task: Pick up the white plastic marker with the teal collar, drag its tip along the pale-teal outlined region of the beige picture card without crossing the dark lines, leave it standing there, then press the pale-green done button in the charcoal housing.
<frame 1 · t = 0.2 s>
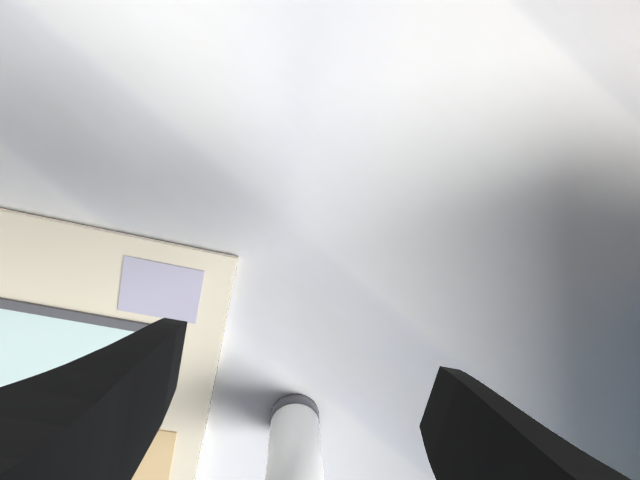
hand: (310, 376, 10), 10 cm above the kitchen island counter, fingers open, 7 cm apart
sheet: (85, 366, 20), on the kitchen island counter
marker: (294, 414, 22), on the kitchen island counter
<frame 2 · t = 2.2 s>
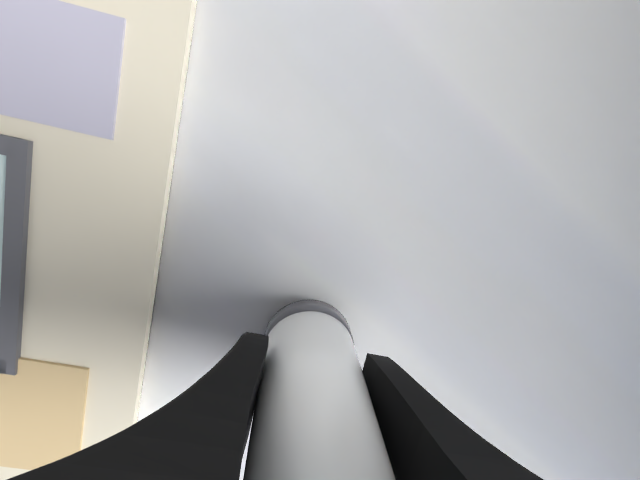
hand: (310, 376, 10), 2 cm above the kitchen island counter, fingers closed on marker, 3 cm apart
marker: (308, 340, 12), on the kitchen island counter, touching gripper
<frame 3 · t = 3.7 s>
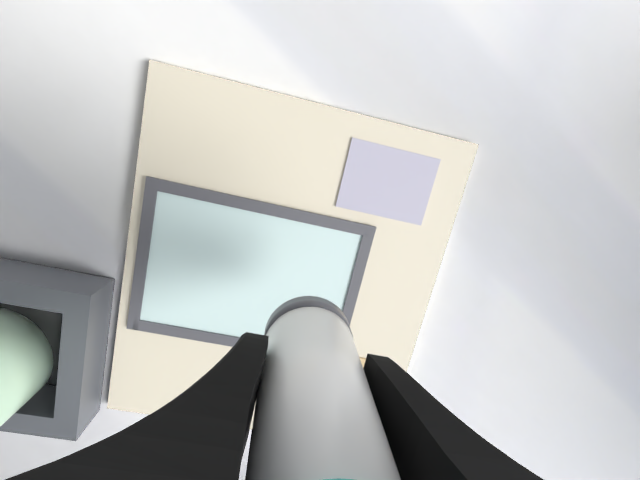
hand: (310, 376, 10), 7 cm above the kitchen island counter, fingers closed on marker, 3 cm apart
button housing: (28, 334, 17), on the kitchen island counter
sheet: (283, 280, 17), on the kitchen island counter
marker: (307, 335, 12), point 5 cm above the kitchen island counter, touching gripper
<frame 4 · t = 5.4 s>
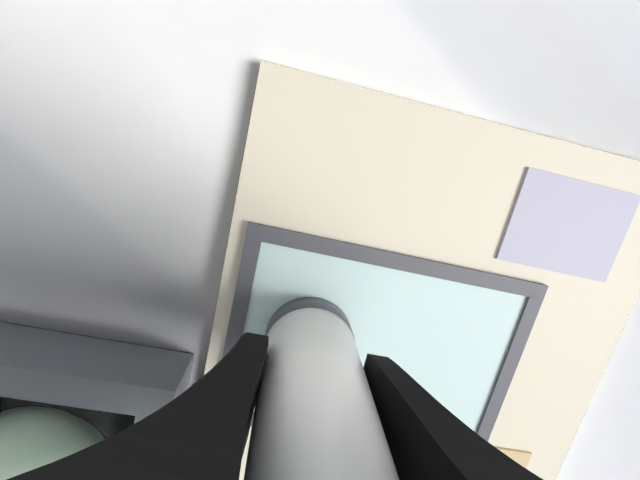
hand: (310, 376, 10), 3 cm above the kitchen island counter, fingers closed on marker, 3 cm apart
button housing: (77, 425, 13), on the kitchen island counter
sheet: (413, 352, 13), on the kitchen island counter
marker: (308, 337, 12), point 1 cm above the kitchen island counter, touching gripper
when the fingers open (3 cm above the kitchen island counter, at t = 5.7 s): marker stays where it is, resting on sheet.
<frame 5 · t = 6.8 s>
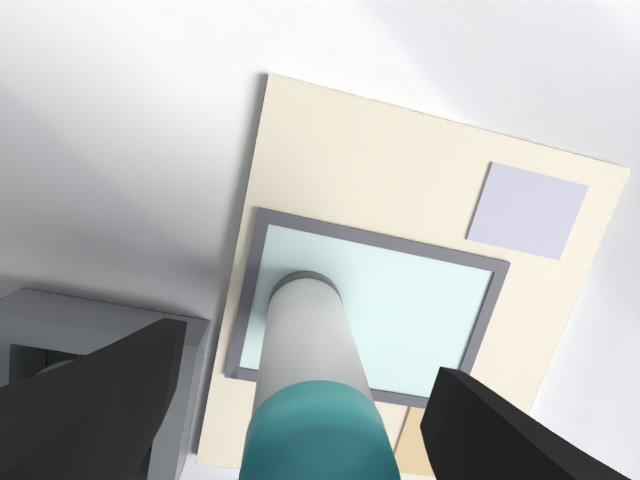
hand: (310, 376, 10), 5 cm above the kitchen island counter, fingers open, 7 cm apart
done button: (55, 452, 11), point 4 cm above the kitchen island counter, slide at 0.0 cm
button housing: (110, 382, 15), on the kitchen island counter
sheet: (397, 320, 15), on the kitchen island counter
marker: (305, 305, 14), point 1 cm above the kitchen island counter, touching sheet
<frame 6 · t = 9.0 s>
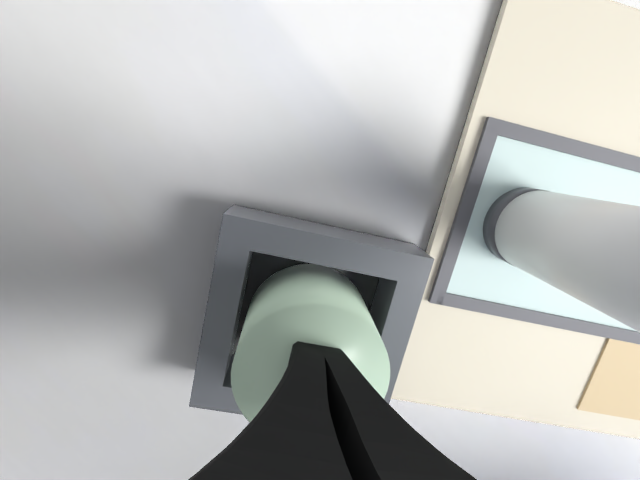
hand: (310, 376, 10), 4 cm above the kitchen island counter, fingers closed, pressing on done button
done button: (309, 345, 12), point 3 cm above the kitchen island counter, slide at 0.8 cm, touching gripper
button housing: (306, 310, 14), on the kitchen island counter
sheet: (601, 247, 15), on the kitchen island counter
marker: (519, 225, 14), point 1 cm above the kitchen island counter, touching sheet
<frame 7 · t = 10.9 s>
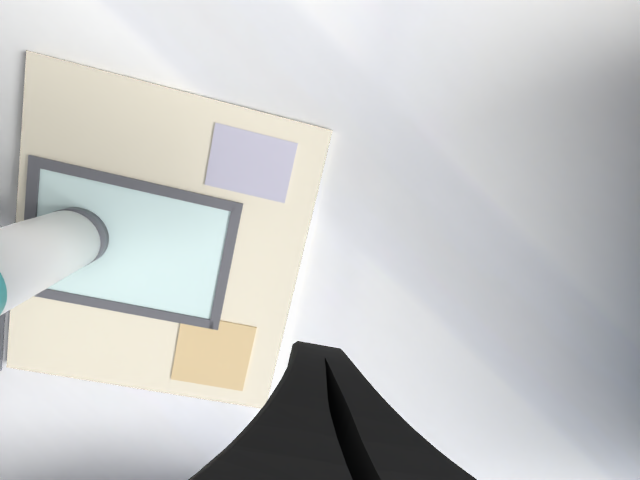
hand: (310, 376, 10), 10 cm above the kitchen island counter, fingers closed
sheet: (164, 252, 19), on the kitchen island counter
marker: (78, 235, 18), point 1 cm above the kitchen island counter, touching sheet
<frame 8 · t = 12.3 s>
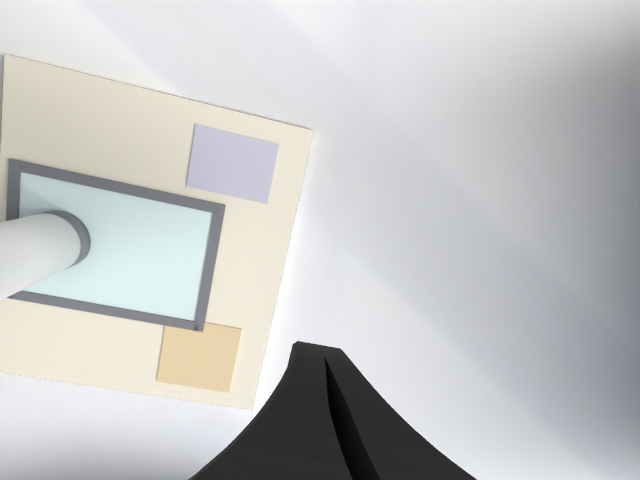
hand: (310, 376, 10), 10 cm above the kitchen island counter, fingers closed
sheet: (148, 254, 19), on the kitchen island counter
marker: (60, 238, 18), point 1 cm above the kitchen island counter, touching sheet
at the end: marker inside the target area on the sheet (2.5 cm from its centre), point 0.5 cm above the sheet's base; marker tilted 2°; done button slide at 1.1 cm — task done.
